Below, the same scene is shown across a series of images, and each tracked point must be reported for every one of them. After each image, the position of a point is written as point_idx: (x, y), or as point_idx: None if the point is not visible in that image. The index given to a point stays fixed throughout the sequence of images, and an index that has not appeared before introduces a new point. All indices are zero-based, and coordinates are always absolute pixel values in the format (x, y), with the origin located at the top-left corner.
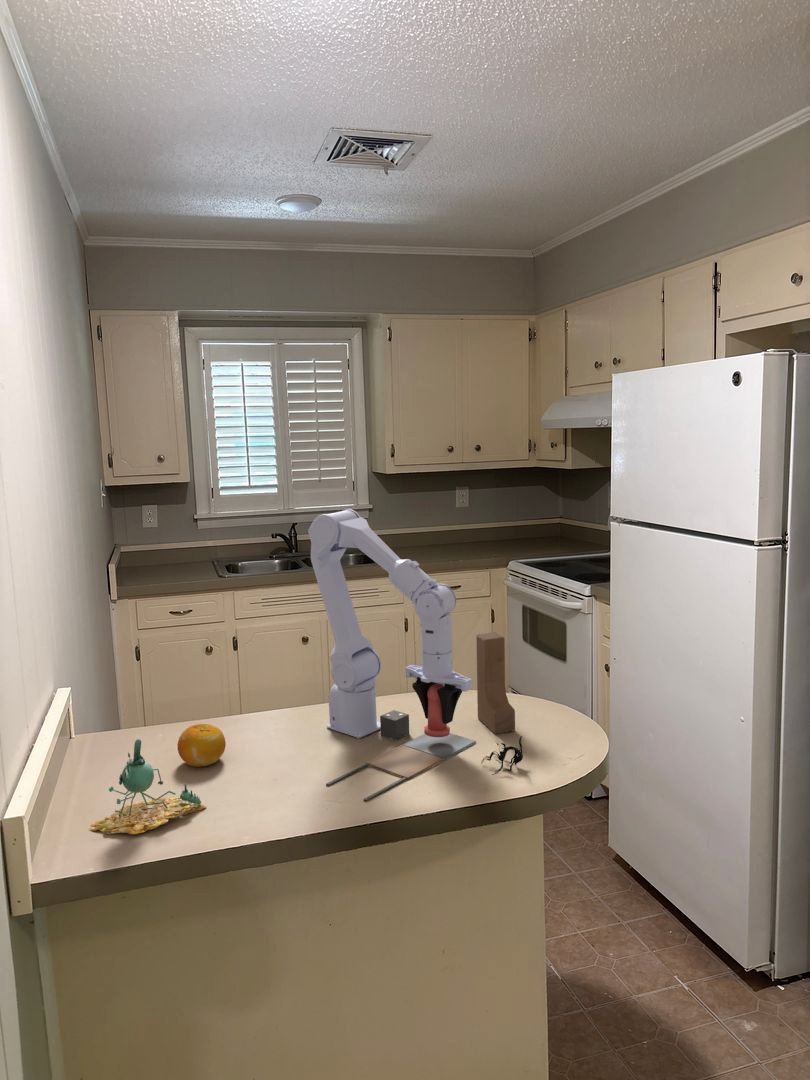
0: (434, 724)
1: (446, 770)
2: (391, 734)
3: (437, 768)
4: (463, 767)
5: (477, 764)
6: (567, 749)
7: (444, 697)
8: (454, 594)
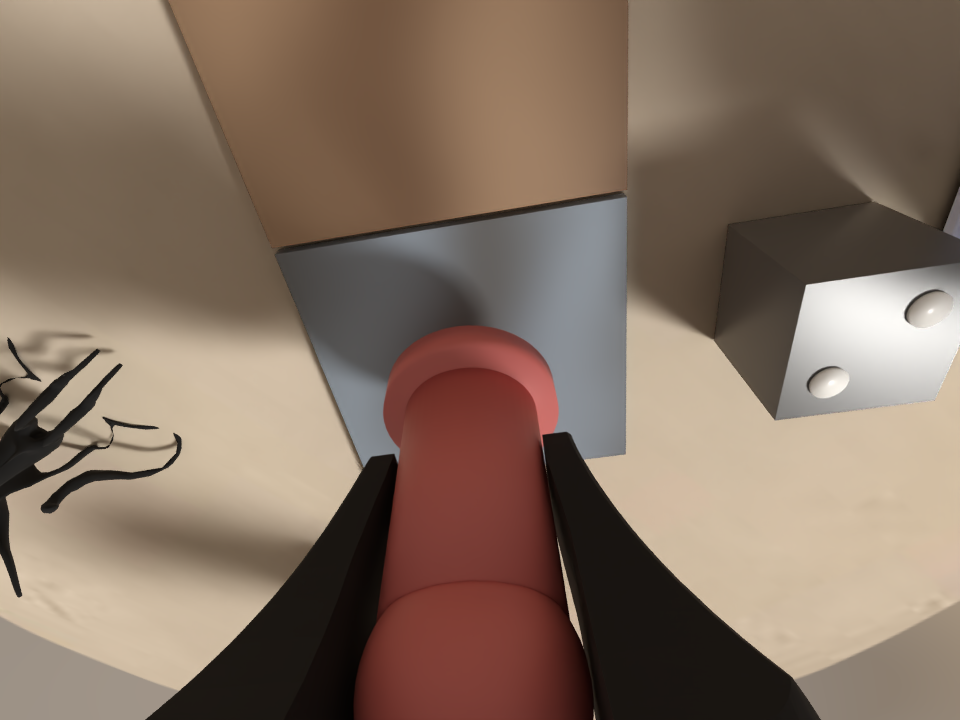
0: (429, 408)
1: (130, 160)
2: (785, 229)
3: (187, 135)
4: (131, 266)
5: (138, 342)
6: (129, 615)
7: (203, 699)
8: None
